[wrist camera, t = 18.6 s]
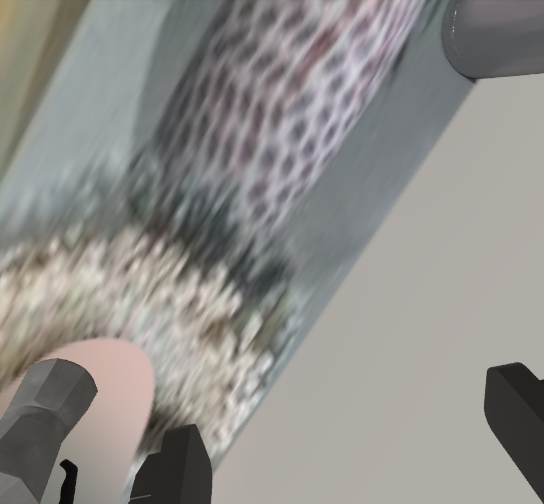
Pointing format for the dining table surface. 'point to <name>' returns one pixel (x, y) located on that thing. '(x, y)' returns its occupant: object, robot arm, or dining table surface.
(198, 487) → the robot arm
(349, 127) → the dining table surface
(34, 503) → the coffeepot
